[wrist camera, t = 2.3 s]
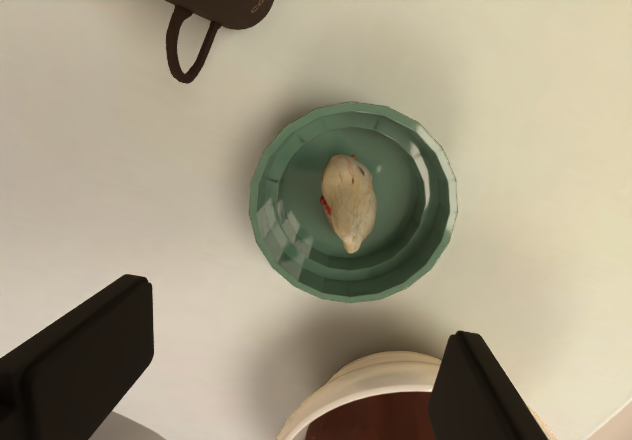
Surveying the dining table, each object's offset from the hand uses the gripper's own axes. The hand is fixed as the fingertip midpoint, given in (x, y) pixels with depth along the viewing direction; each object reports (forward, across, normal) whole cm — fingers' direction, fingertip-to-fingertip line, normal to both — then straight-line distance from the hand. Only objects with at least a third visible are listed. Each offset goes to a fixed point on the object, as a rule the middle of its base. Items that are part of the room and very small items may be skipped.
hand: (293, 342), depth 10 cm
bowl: (+20, -2, -1) cm, 20 cm away
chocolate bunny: (+19, -2, -1) cm, 20 cm away
